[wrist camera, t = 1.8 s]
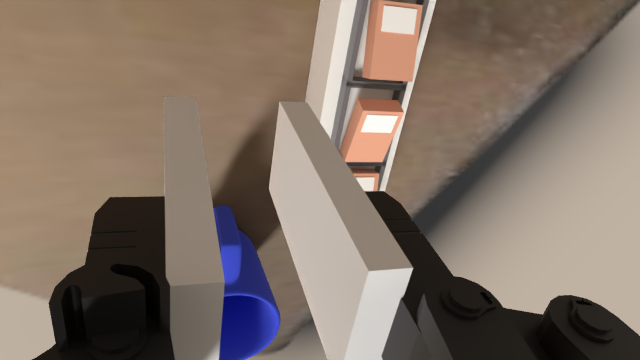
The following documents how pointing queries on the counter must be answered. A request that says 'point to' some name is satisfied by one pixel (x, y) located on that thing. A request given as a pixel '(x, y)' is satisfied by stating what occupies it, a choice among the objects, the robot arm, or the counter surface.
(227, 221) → the mug
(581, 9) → the counter surface
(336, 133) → the white rack
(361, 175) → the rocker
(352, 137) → the block
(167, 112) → the robot arm
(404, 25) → the orange rectangular block
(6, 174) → the counter surface
